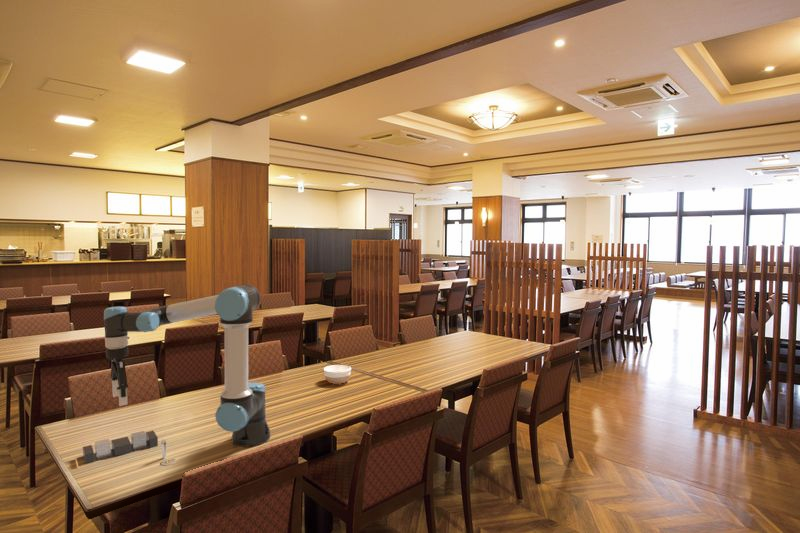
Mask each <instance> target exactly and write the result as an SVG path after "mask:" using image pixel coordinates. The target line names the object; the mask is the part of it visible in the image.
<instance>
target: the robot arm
mask: <svg viewBox="0 0 800 533" xmlns="http://www.w3.org/2000/svg"><path fill="white" fill-rule="evenodd" d="M261 298H262V296H261V293H260V291H259V290H258V288H256V287H255V286H254V285H251V284H240V285H237V286H231V287H228V288H225V289H224V290H222V291H221V292H220V293H219V294H216V295H211V296H207V297H206V296H205V297H201V298H196V299H191V300H188V301H182V302H177V303H173V304H169V305H161V306H157V307H154V308H151V309H147V310H142V311H130V312H129V311H128V310H127V307H126V306H111V307H107V308H105V309H104V310H103V324H104V346H105V348H106V349H105V357H106V359H109V360H110V378H111V387H112V388H111V390H112V398H116V397H118V405H119V407H121V406H127V405H129V404H128V387H129V385H128V384H129V383H128V378H127V372H126V361H124V359H123V358H126V357H128V356H129V353H130V352H129V345H128V344H129V341H128V340H129V339H130V336H128V334H129V333H130V332H133V333H134V332H136V333H137V332H139V333H141V332H142V333H143V332H144V333H148V332H155V331H156V330H157V328H158V327H160V326H165V325H168V324H169V325H170V324H173V323H179V322H184V321H189V320H194V319H198V318H199V319H200V318H204V317H208V316H214V315H217V316H218V317H219V322H220V325H221V326H223V328H224V389H223V390H222V391H221V392H220V395H219V396H220V398H219V399H220V405H219V406H218V407H217V409H216V411H215V414H214V415H215V421H216V423H217V425H218V426H219V427H220V428H221V429H222V430H225V431H227V432H232V434H231V442H232V444H234V445H235V446H239V447H253V446H257V445H260V444H263V443H265V442H266V443H267V441H268V440H270V438H271V430H270V427H269V424H268V421H267V419H266V418H267V417H266V391H267V390H266V386H265V385H264V384H263V383H262V382H249V327H250V325H252V323H253V322H254V321H253V319H254V318H253V316H254V314H253V313H254V312H255V311H256V310H257V309H258V308H259V307H260V305H261V300H262V299H261ZM128 332H129V333H128Z"/></svg>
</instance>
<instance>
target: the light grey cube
mask: <svg viewBox="0 0 800 533" xmlns="http://www.w3.org/2000/svg"><path fill="white" fill-rule="evenodd" d="M130 443H131V446H132V448H133V450H136V449H140V448H144V447H146V431H144V430H140V431H137V432H133V433H130Z"/></svg>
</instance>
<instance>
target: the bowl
mask: <svg viewBox="0 0 800 533" xmlns="http://www.w3.org/2000/svg"><path fill="white" fill-rule="evenodd" d="M323 371H324V373H323V375H324V379H325V380H326V381H327V382H330V383H333V384H332V385H334V384H339V385H342V384H341V383H344V384H346V383H347V382H348V380H350V378H351V374H352V373H351V371H352V367H351V366H349V365H348V364H347V365H345V364H332V365H331V364H330V365H327V366H325V367H324V368H323ZM346 381H347V382H346ZM345 382H346V383H345ZM330 383H329V384H330Z"/></svg>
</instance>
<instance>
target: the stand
mask: <svg viewBox="0 0 800 533" xmlns="http://www.w3.org/2000/svg"><path fill="white" fill-rule="evenodd" d="M161 459H162V460H165V459H167V441H166V439H161ZM175 462H176V458H174V459H173V458H172V459H170V460H169V459H168V460H166V461H162V462H160V463H159V464H160V465H162V466H169V465H173V464H174V463H175Z"/></svg>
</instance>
